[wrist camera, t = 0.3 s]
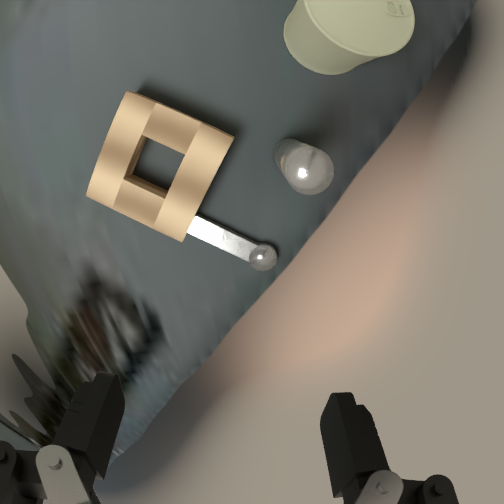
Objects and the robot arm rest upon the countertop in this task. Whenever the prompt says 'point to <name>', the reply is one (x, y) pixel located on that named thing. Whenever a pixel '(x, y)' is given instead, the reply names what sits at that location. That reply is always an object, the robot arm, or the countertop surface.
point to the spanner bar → (234, 243)
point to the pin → (303, 166)
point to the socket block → (143, 192)
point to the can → (346, 32)
